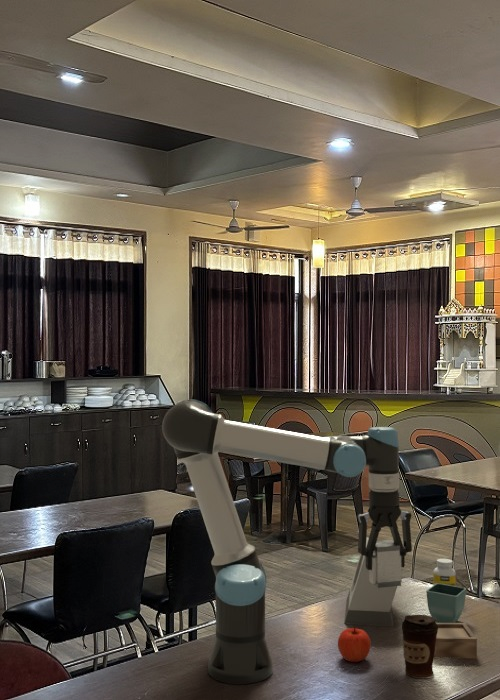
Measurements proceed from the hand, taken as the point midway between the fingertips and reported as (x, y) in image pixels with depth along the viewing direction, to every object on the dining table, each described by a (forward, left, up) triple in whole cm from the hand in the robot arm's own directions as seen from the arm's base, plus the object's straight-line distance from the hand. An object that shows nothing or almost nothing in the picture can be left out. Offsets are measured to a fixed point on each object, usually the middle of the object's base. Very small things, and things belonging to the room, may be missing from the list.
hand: (385, 581), depth 197 cm
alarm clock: (+1, +28, -18) cm, 33 cm away
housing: (0, 0, 0) cm, 1 cm away
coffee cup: (+6, -14, -18) cm, 23 cm away
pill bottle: (+24, +41, -18) cm, 50 cm away
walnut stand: (+16, +1, -17) cm, 24 cm away
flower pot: (+20, +21, -18) cm, 34 cm away
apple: (-8, -6, -18) cm, 20 cm away
